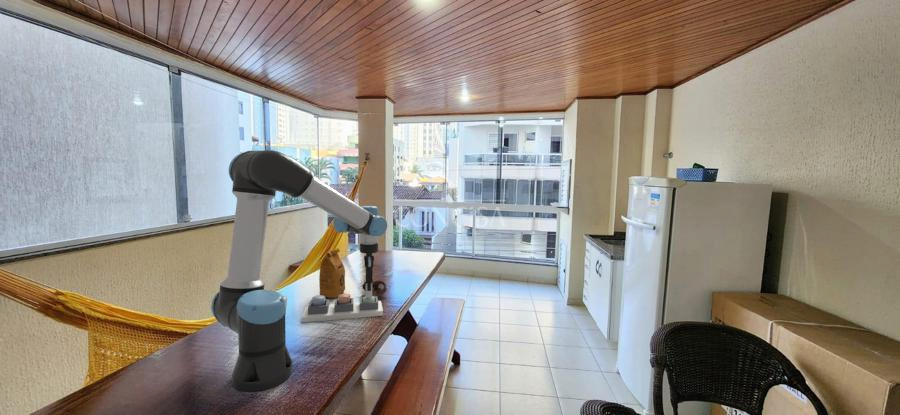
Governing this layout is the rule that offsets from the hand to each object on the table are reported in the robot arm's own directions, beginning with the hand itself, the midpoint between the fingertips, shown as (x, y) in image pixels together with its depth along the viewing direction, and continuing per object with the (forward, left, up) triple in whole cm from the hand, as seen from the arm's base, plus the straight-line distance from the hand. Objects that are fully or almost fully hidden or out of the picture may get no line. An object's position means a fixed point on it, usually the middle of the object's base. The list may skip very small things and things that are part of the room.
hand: (368, 297), depth 144 cm
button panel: (-8, +6, -6) cm, 12 cm away
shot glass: (-27, +24, -6) cm, 37 cm away
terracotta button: (-8, +6, -2) cm, 10 cm away
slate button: (-16, +11, -2) cm, 20 cm away
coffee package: (+1, +29, -6) cm, 29 cm away
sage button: (0, 0, -3) cm, 3 cm away
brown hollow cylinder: (+14, +14, -6) cm, 21 cm away
